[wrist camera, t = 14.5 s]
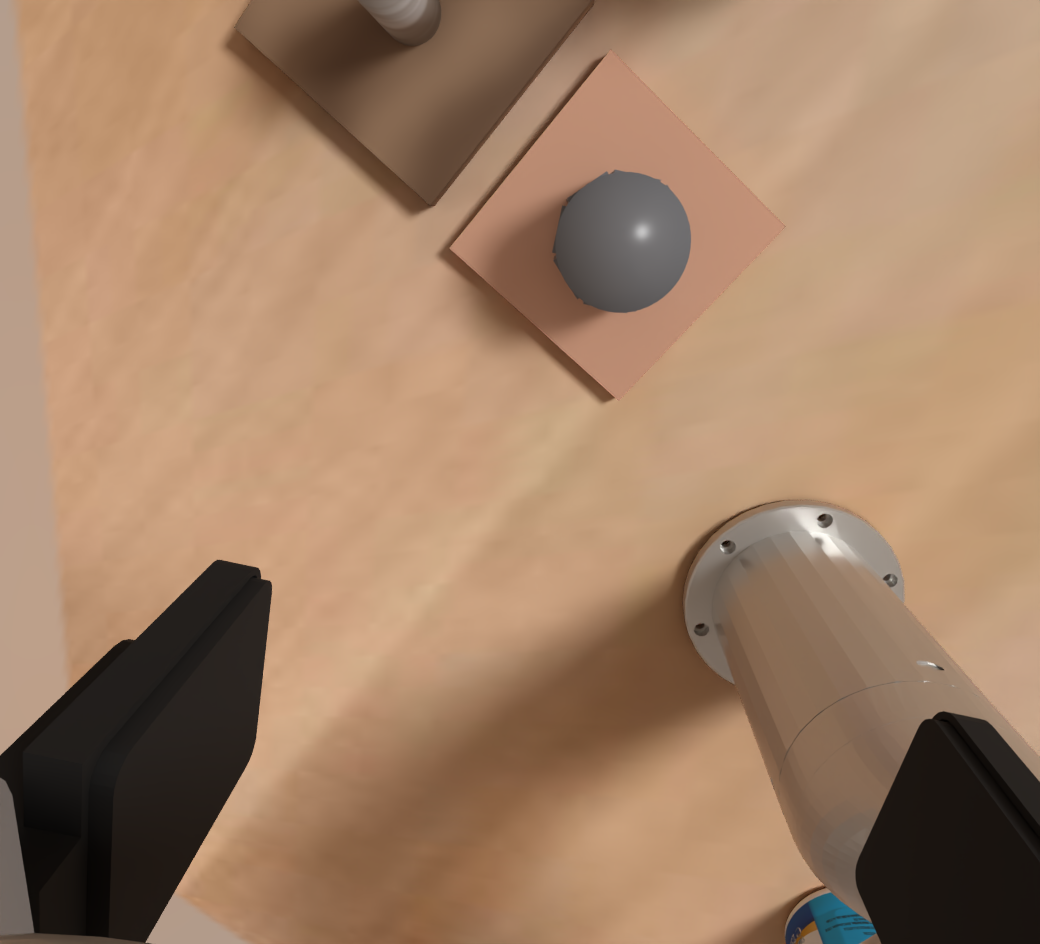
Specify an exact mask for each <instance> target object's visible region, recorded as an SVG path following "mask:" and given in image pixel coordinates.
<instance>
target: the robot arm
mask: <svg viewBox="0 0 1040 944" xmlns="http://www.w3.org/2000/svg"><path fill="white" fill-rule="evenodd" d="M822 514H824V515H823V517H822V518H818V517H819V516H820V515H822ZM726 540H729V542H728V543H727V544H722V542H724V541H726ZM884 576H885V577H884ZM271 595H272V584H271V582H270V581H268V580H263V579H261V573H260V570H259V568H256V567H252V566H247V565H242V564H237V563H232V562H228V561H223V560H216V561H215V562H213V563H212V564H211V565H210V566H209V567H208V568H207V569H206V570H205V571H204V572H203V573H202V574H201V575H200V576H199V577H198V578H197V579H196V580H195V581H194V582H193V583H192V584H191V585H190V586H189V587H188V588H187V589H186V590H185V591H184V592H183V593H182V594H181V595H180V596H179V597H178V598H177V599H176V600H175V601H174V602H173V603H172V604H171V605H170V606H169V607H168V608H167V609H166V610H165V611H164V612H163V613H162V614H161V615H160V616H159V617H158V618H157V619H156V620H155V621H154V622H153V623H152V624H151V625H150V626H149V627H148V628H147V629H146V630H145V631H144V632H143V633H142V634H141V635H140V636H139V637H138V638H137V639H136V640H131V639H128V640H123V641H121V642H120V643H118V644H117V645H115V646H114V647H113V648H112V649H111V650H110V651H109V652H108V653H107V654H106V655H105V656H103V657H102V658H101V659H100V660H99V661H98V662H97V663H96V664H95V665H94V666H93V667H92V668H91V669H90V670H89V671H88V672H87V673H86V674H85V675H84V676H83V677H82V678H81V679H80V680H78V681H77V682H76V683H75V684H74V685H73V686H72V687H71V688H70V689H69V690H68V691H67V692H66V693H65V694H64V695H63V696H62V697H61V698H60V699H59V700H58V701H57V702H56V703H54V704H53V705H52V706H51V707H50V709H48V710H47V711H46V712H45V713H44V714H43V715H42V716H41V717H40V718H39V719H38V720H37V721H36V722H35V723H34V724H33V725H32V726H31V727H30V728H29V729H27V730H26V731H25V732H24V733H23V734H22V735H21V736H20V737H19V738H18V739H17V740H16V741H15V742H14V743H13V744H12V745H11V746H10V747H9V748H8V749H7V750H6V751H4V752H3V753H2V754H1V755H0V944H150V943H145V942H146V940H147V938H148V937H149V935H150V933H151V932H152V930H153V928H154V926H155V925H156V923H157V921H158V919H159V918H160V916H161V914H162V912H163V911H164V909H165V907H166V906H167V904H168V902H169V900H170V899H171V897H172V895H173V893H174V892H175V890H176V888H177V886H178V885H179V883H180V881H181V879H182V878H183V876H184V874H185V872H186V871H187V869H188V867H189V865H190V864H191V862H192V860H193V858H194V857H195V855H196V853H197V852H198V850H199V848H200V846H201V845H202V843H203V841H204V839H205V838H206V836H207V834H208V832H209V831H210V829H211V827H212V825H213V824H214V822H215V820H216V818H217V817H218V815H219V813H220V811H221V810H222V808H223V806H224V805H225V803H226V801H227V799H228V798H229V796H230V794H231V792H232V791H233V789H234V787H235V785H236V784H237V782H238V780H239V778H240V777H241V775H242V773H243V771H244V770H245V768H246V766H247V764H248V762H249V760H250V757H251V755H252V752H253V749H254V745H255V740H256V733H257V724H258V715H259V706H260V696H261V687H262V678H263V669H264V659H265V650H266V641H267V632H268V622H269V613H270V604H271ZM904 600H905V594H904V578H903V575H902V571H901V567H900V563H899V561H898V559H897V557H896V555H895V554H894V552H893V550H892V548H891V546H890V545H889V544H888V543H887V542H886V540H885V539H884V538H883V537H882V536H881V535H880V533H879V532H878V531H877V530H876V529H874V528H873V527H872V526H871V525H870V524H869V523H868V522H867V521H866V520H864V519H862V518H861V517H859V516H857V515H856V514H854V513H853V512H851V511H849V510H847V509H844V508H841V507H839V506H836V505H833V504H830V503H825V502H819V501H813V500H786V501H780V502H775V503H770V504H765V505H763V506H760V507H757V508H755V509H752V510H749V511H747V512H744V513H743V514H741V515H739V516H738V517H736V518H734V519H732V520H731V521H729V522H727V523H726V524H725V525H724V526H723V527H721V528H720V529H719V530H718V531H717V532H716V533H714V534H713V535H712V536H711V537H710V538H709V540H708V541H707V542H706V543H705V544H704V546H703V547H702V548H701V549H700V550H699V552H698V554H697V556H696V557H695V559H694V561H693V563H692V565H691V567H690V569H689V572H688V575H687V578H686V582H685V585H684V593H683V611H684V619H685V623H686V627H687V630H688V634H689V637H690V639H691V641H692V643H693V645H694V647H695V649H696V651H697V653H698V654H699V655H700V656H701V658H702V659H703V660H704V661H705V663H706V664H707V665H708V666H709V667H710V668H711V669H712V670H713V671H715V672H716V673H717V674H718V675H719V676H720V677H722V678H723V679H725V680H727V681H729V682H730V683H732V684H734V685H736V688H737V691H738V693H739V696H740V699H741V701H742V704H743V707H744V710H745V712H746V715H747V718H748V720H749V723H750V726H751V728H752V731H753V734H754V737H755V739H756V742H757V745H758V747H759V750H760V753H761V755H762V758H763V761H764V763H765V766H766V769H767V772H768V774H769V777H770V780H771V782H772V785H773V788H774V790H775V793H776V796H777V799H778V801H779V804H780V807H781V809H782V812H783V815H784V816H785V819H786V822H787V824H788V827H789V829H790V832H791V835H792V837H793V840H794V842H795V844H796V846H797V848H798V850H799V852H800V853H801V855H802V857H803V859H804V860H805V862H806V863H807V864H808V866H809V867H810V869H811V870H812V872H813V873H814V874H815V876H816V877H817V878H818V879H819V880H820V881H821V882H822V883H823V884H824V885H825V886H826V887H827V888H828V889H829V890H830V891H831V893H832V894H834V895H835V896H836V897H837V898H838V899H839V900H840V901H841V902H843V903H844V904H845V905H847V906H848V907H849V908H851V909H852V910H853V911H855V912H856V913H858V914H859V915H860V916H862V917H863V918H865V919H866V920H868V921H869V922H871V923H872V924H873V926H874V928H875V931H876V934H874V935H873V936H871V937H870V938H868V939H866V940H865V941H863V942H861V943H860V944H1040V756H1039V755H1038V754H1037V753H1036V752H1035V751H1034V750H1033V748H1032V747H1031V746H1030V745H1029V744H1028V743H1027V742H1026V741H1025V740H1024V738H1023V737H1022V736H1021V735H1020V734H1019V733H1018V732H1017V731H1016V729H1015V728H1014V727H1013V726H1012V725H1011V724H1010V723H1009V722H1008V720H1007V719H1006V718H1005V717H1004V716H1003V715H1002V714H1001V713H1000V712H999V711H998V710H997V709H996V708H995V706H994V705H993V704H992V703H991V702H990V701H989V700H988V699H987V697H986V696H985V695H984V694H983V693H982V692H981V691H980V689H979V688H978V687H977V686H976V685H975V684H974V683H973V682H972V680H971V679H970V678H969V677H968V676H967V675H966V674H965V672H964V671H963V670H962V669H961V668H960V667H959V666H958V665H957V663H956V662H955V661H954V660H953V659H952V658H951V657H950V656H949V654H948V653H947V652H946V651H945V650H944V649H943V648H942V646H941V645H940V644H939V643H938V642H937V641H936V640H935V639H934V637H933V636H932V635H931V634H930V633H929V632H928V631H927V629H926V628H925V627H924V626H923V625H922V624H921V623H920V622H919V620H918V619H917V618H916V617H915V616H914V615H913V614H912V612H911V611H910V610H909V609H908V608H907V607H906V606H905V605H904ZM699 623H702V624H701V625H698V624H699Z"/></svg>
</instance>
